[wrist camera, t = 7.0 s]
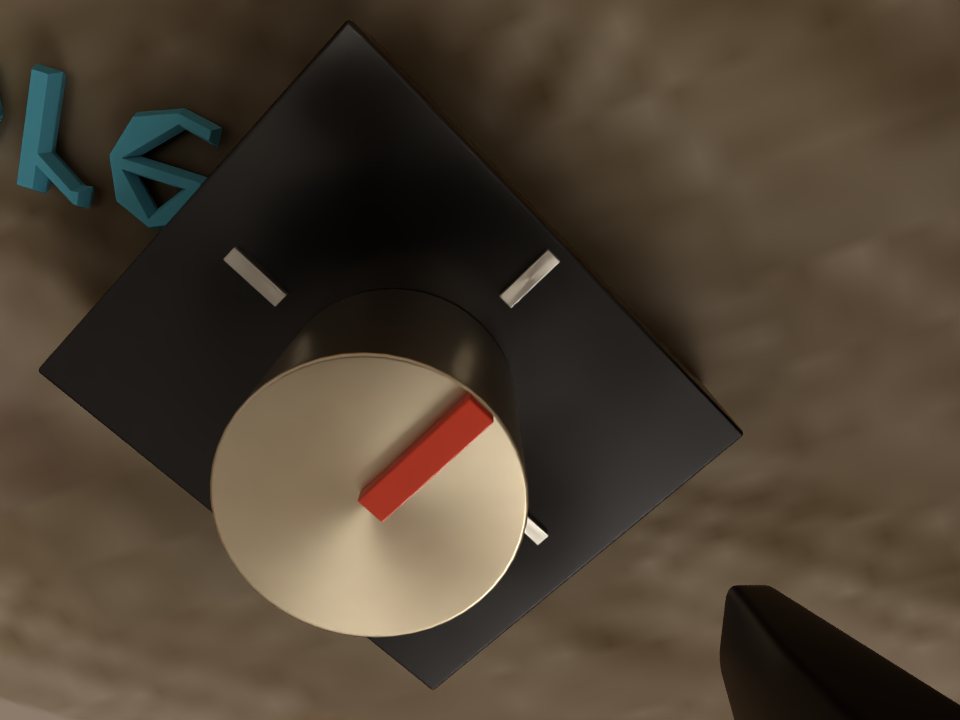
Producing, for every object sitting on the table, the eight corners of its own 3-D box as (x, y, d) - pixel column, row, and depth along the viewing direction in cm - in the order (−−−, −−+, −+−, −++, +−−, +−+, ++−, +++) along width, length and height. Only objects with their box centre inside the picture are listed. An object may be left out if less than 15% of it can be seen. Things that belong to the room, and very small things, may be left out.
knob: (399, 551, 18) (373, 702, 13) (227, 402, 17) (134, 512, 12) (564, 405, 17) (597, 516, 12) (392, 236, 16) (359, 287, 11)
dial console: (706, 388, 20) (748, 437, 17) (438, 617, 22) (432, 697, 19) (369, 33, 17) (346, 16, 14) (100, 333, 19) (31, 374, 16)
